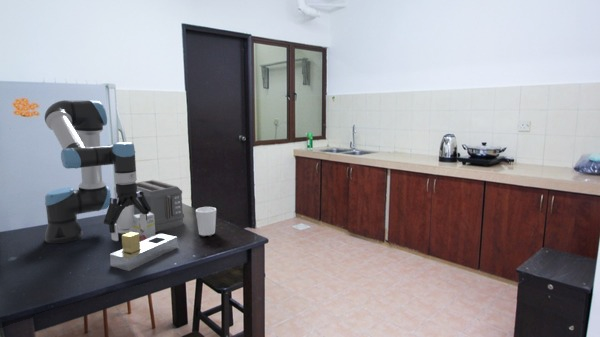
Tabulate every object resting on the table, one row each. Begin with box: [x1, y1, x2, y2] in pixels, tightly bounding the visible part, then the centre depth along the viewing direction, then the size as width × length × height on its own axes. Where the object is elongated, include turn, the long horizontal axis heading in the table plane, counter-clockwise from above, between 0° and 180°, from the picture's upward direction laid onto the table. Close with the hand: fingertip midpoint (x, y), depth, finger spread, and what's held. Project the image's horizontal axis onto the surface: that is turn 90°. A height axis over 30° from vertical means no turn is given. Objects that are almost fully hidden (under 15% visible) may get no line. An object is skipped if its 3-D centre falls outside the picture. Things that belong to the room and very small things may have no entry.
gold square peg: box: [121, 231, 141, 255], centre depth 148 cm, size 4×4×12 cm
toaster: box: [134, 179, 185, 232], centre depth 199 cm, size 19×34×20 cm, turn 49°
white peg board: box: [109, 233, 179, 272], centre depth 155 cm, size 10×26×5 cm, turn 155°
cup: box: [195, 206, 217, 238], centre depth 180 cm, size 10×10×13 cm
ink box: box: [133, 212, 157, 242], centre depth 175 cm, size 9×5×12 cm, turn 136°
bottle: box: [113, 184, 134, 234], centre depth 184 cm, size 8×8×28 cm
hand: (129, 234), depth 148 cm, fingers open, 13 cm apart
